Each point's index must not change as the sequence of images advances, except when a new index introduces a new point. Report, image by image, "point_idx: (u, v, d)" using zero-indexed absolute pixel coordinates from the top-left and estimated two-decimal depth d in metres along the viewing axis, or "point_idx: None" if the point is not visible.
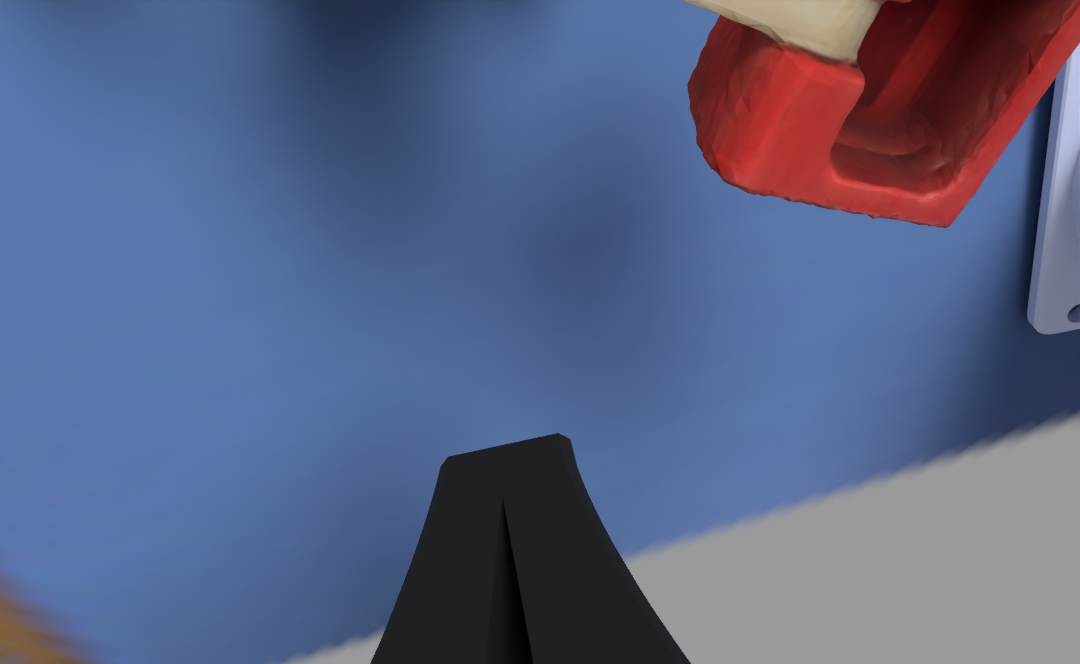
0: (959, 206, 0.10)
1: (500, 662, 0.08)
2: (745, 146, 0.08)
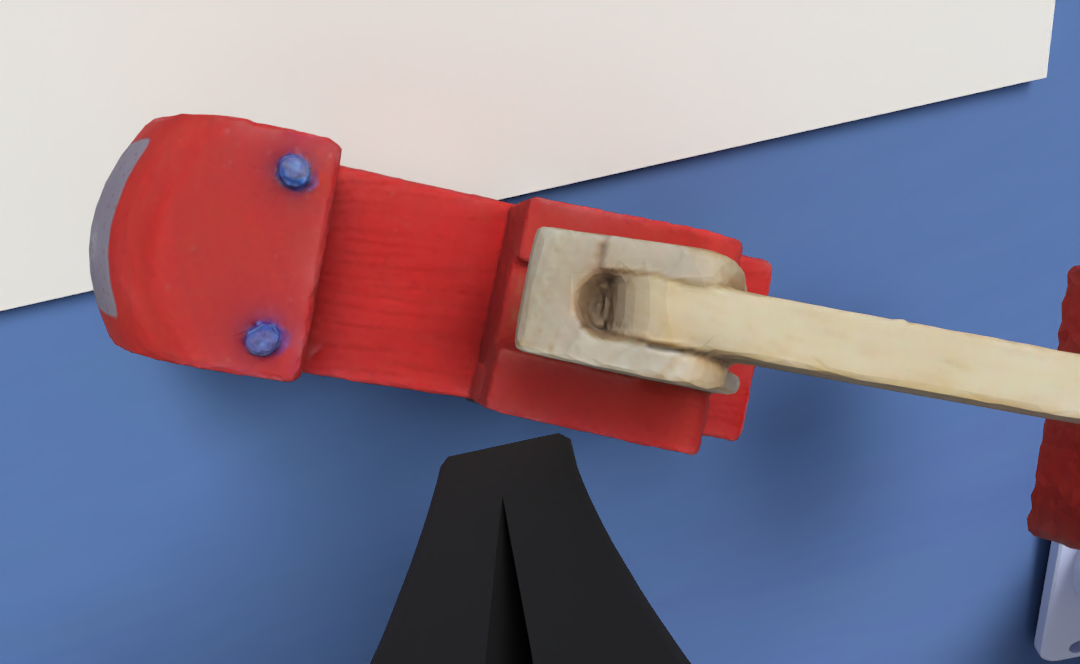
0: None
1: (500, 662, 0.08)
2: None
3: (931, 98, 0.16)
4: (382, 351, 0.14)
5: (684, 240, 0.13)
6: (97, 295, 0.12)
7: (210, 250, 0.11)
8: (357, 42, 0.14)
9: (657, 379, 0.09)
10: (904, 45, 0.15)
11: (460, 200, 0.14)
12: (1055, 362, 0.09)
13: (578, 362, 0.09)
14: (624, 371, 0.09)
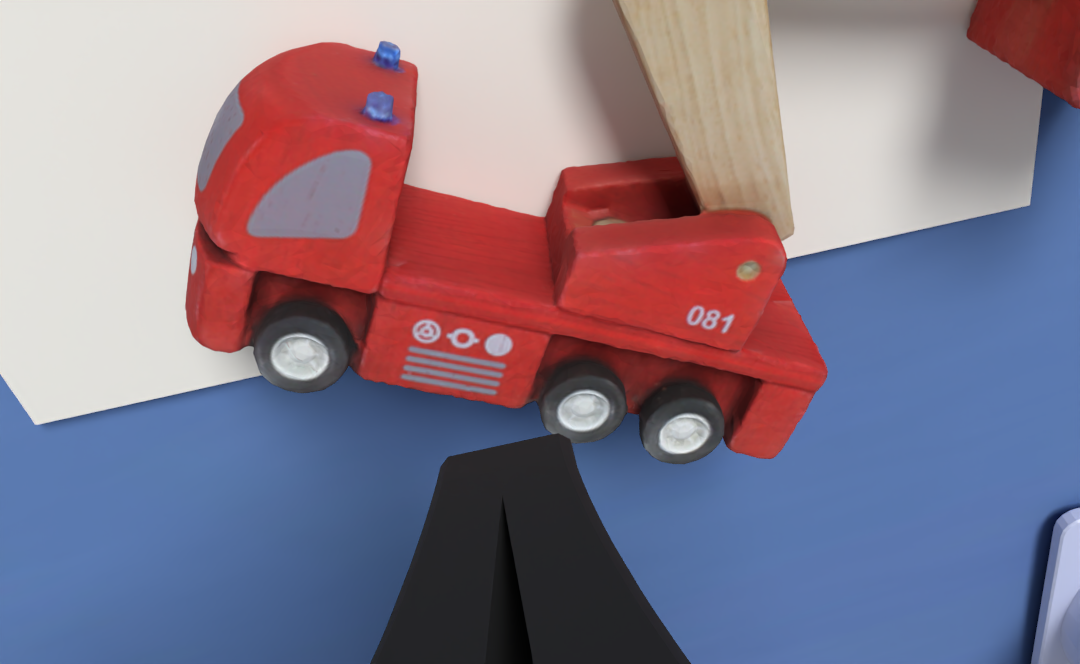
0: None
1: (500, 662, 0.08)
2: None
3: (924, 224, 0.17)
4: (463, 271, 0.14)
5: None
6: (215, 147, 0.13)
7: (327, 77, 0.13)
8: None
9: None
10: (899, 180, 0.17)
11: (502, 210, 0.16)
12: None
13: None
14: None
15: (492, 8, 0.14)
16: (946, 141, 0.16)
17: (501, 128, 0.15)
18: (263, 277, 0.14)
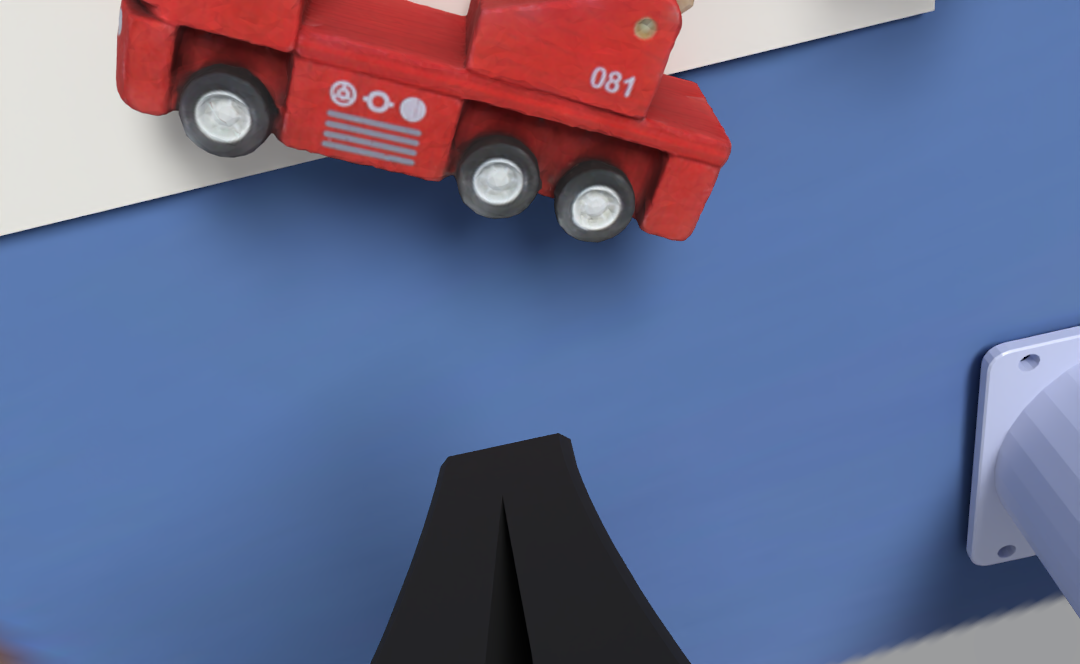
0: None
1: (500, 662, 0.08)
2: None
3: (833, 30, 0.18)
4: (377, 37, 0.15)
5: None
6: None
7: None
8: None
9: None
10: None
11: (425, 8, 0.17)
12: None
13: None
14: None
15: None
16: None
17: None
18: (186, 39, 0.14)
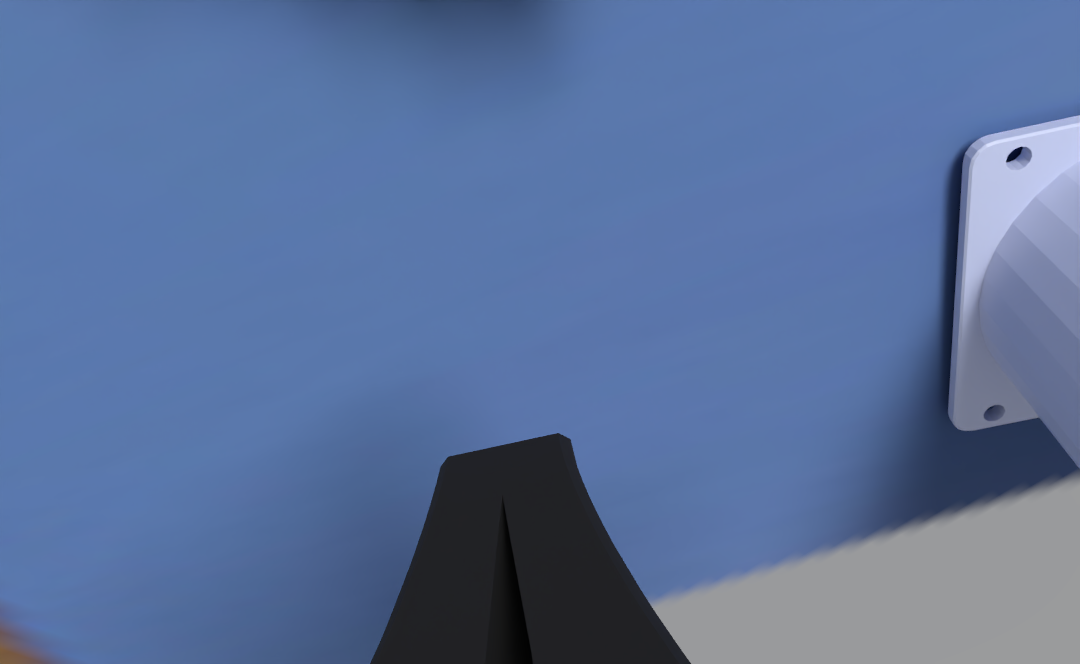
0: None
1: (500, 663, 0.08)
2: None
3: None
4: None
5: None
6: None
7: None
8: None
9: None
10: None
11: None
12: None
13: None
14: None
15: None
16: None
17: None
18: None
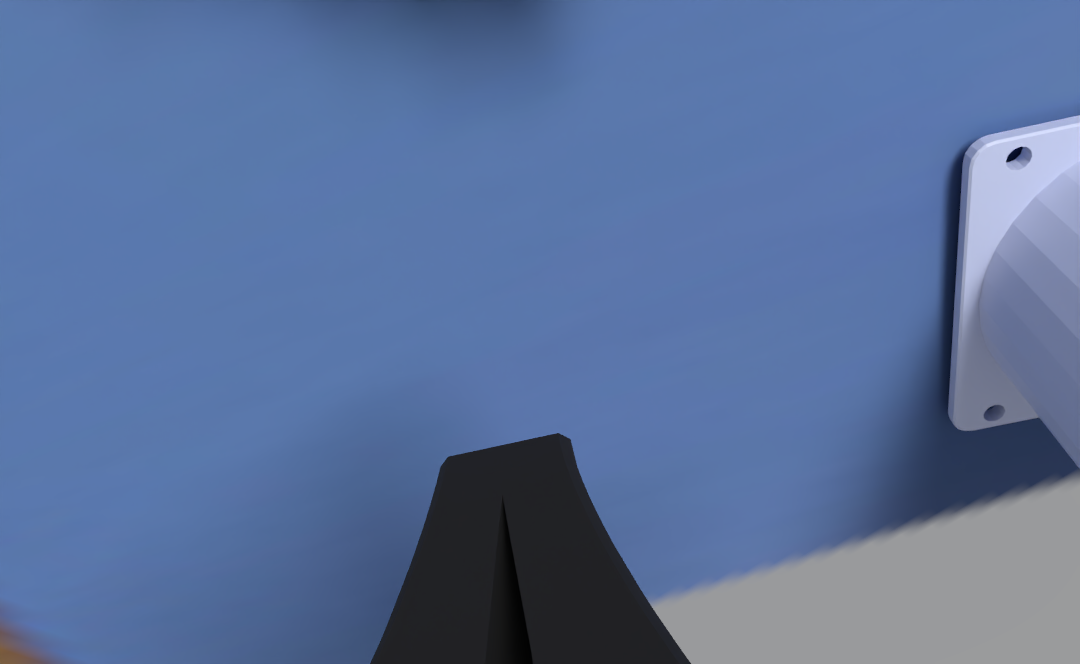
0: None
1: (500, 663, 0.08)
2: None
3: None
4: None
5: None
6: None
7: None
8: None
9: None
10: None
11: None
12: None
13: None
14: None
15: None
16: None
17: None
18: None
